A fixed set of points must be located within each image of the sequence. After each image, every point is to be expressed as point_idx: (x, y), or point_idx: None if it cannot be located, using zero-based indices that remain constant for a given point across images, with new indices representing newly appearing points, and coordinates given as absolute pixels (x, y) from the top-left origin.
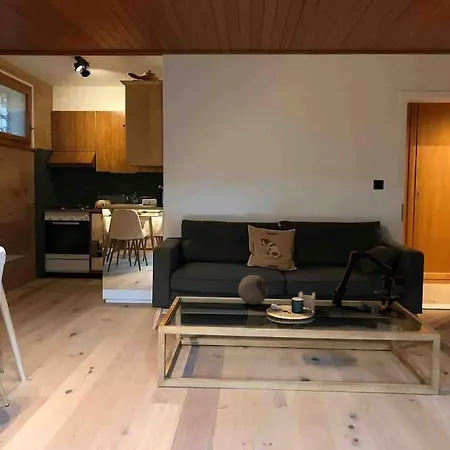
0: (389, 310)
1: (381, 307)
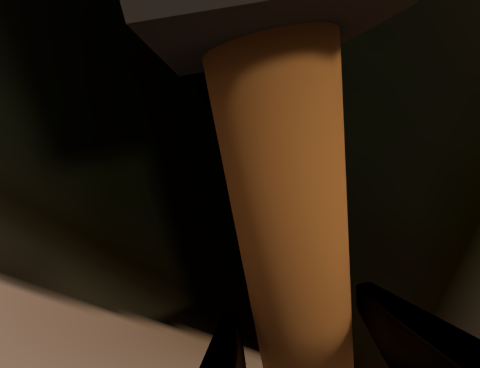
0: None
1: (237, 148)
